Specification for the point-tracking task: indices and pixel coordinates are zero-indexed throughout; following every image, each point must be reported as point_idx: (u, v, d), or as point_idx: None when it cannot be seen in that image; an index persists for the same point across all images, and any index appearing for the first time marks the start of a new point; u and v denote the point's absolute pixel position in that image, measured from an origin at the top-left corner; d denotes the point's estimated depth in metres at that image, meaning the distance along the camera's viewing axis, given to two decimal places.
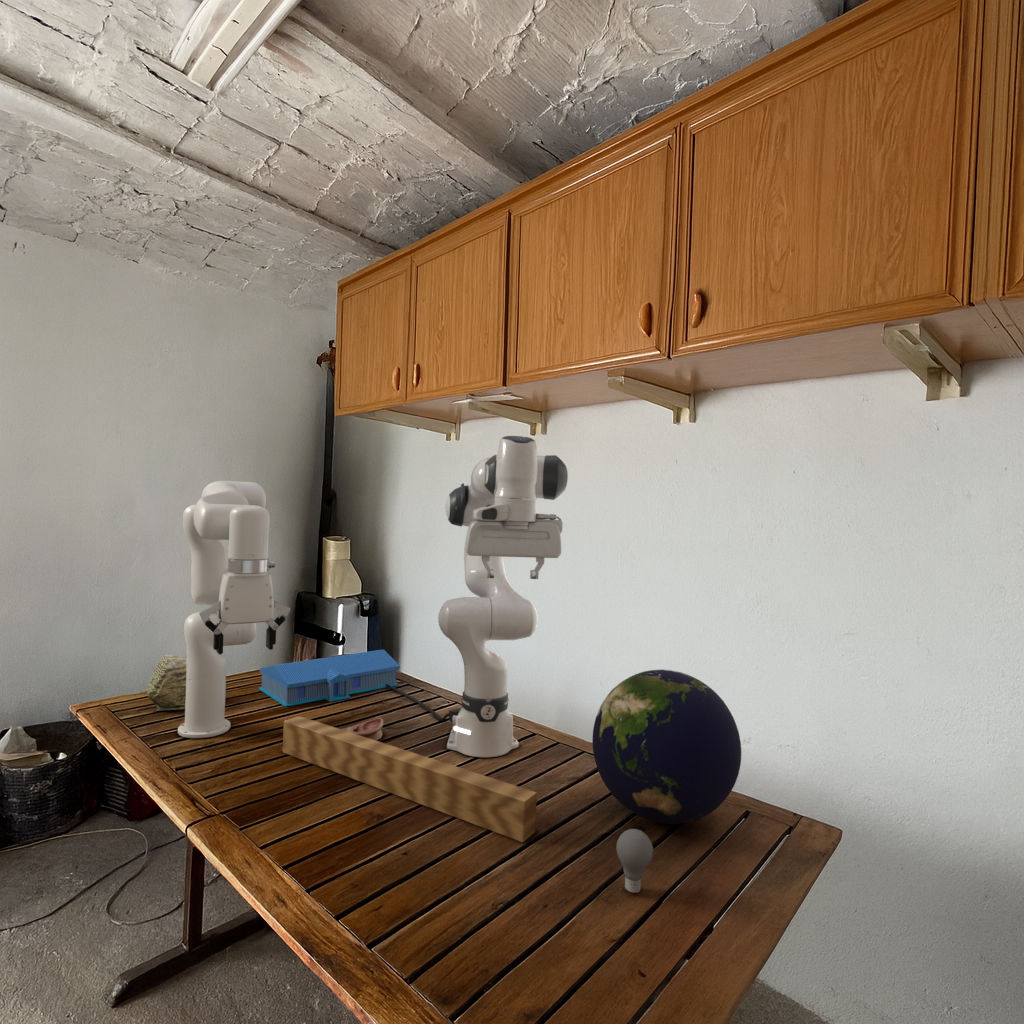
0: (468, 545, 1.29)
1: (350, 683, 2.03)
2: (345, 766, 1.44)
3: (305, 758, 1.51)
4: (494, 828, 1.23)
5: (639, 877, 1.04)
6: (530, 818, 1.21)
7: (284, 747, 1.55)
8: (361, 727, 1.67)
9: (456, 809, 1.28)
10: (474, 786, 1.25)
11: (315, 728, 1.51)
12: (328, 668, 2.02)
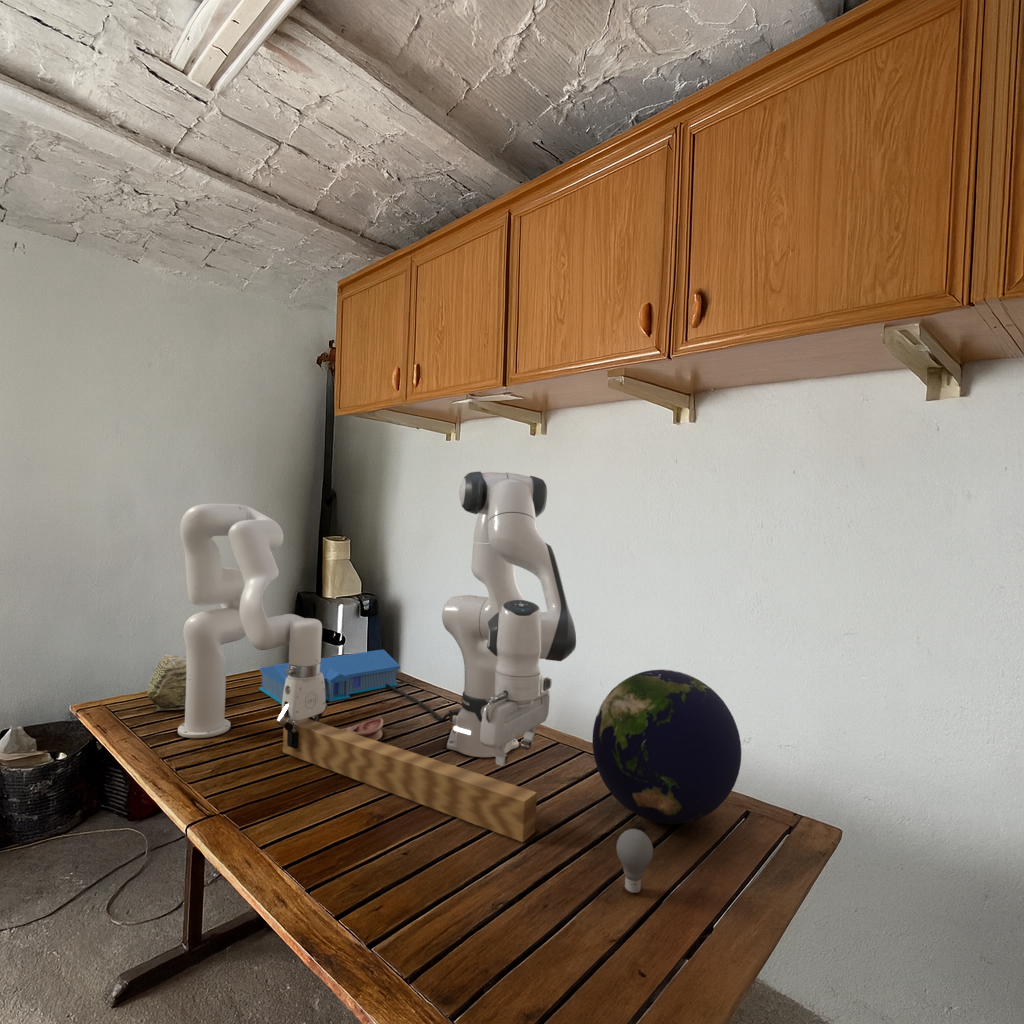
0: None
1: (350, 683, 2.03)
2: (345, 766, 1.44)
3: (305, 758, 1.51)
4: (494, 828, 1.23)
5: (639, 877, 1.04)
6: (530, 818, 1.21)
7: (284, 747, 1.55)
8: (361, 727, 1.67)
9: (456, 809, 1.28)
10: (474, 785, 1.25)
11: (315, 728, 1.51)
12: (328, 668, 2.02)
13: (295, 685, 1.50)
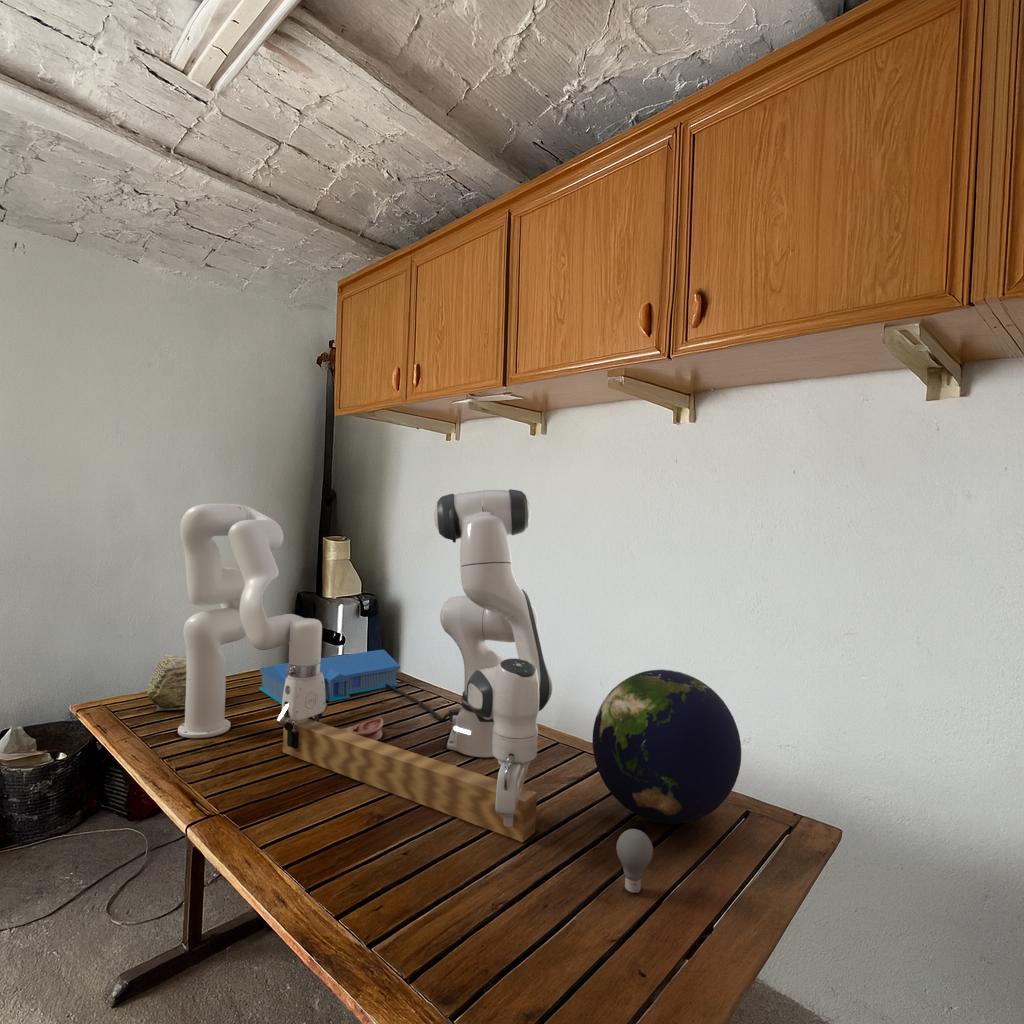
0: None
1: (350, 683, 2.03)
2: (345, 766, 1.44)
3: (305, 758, 1.51)
4: (494, 828, 1.23)
5: (639, 877, 1.04)
6: (530, 818, 1.21)
7: (284, 747, 1.55)
8: (361, 727, 1.67)
9: (456, 809, 1.28)
10: (474, 786, 1.25)
11: (315, 728, 1.51)
12: (328, 668, 2.02)
13: (295, 685, 1.50)
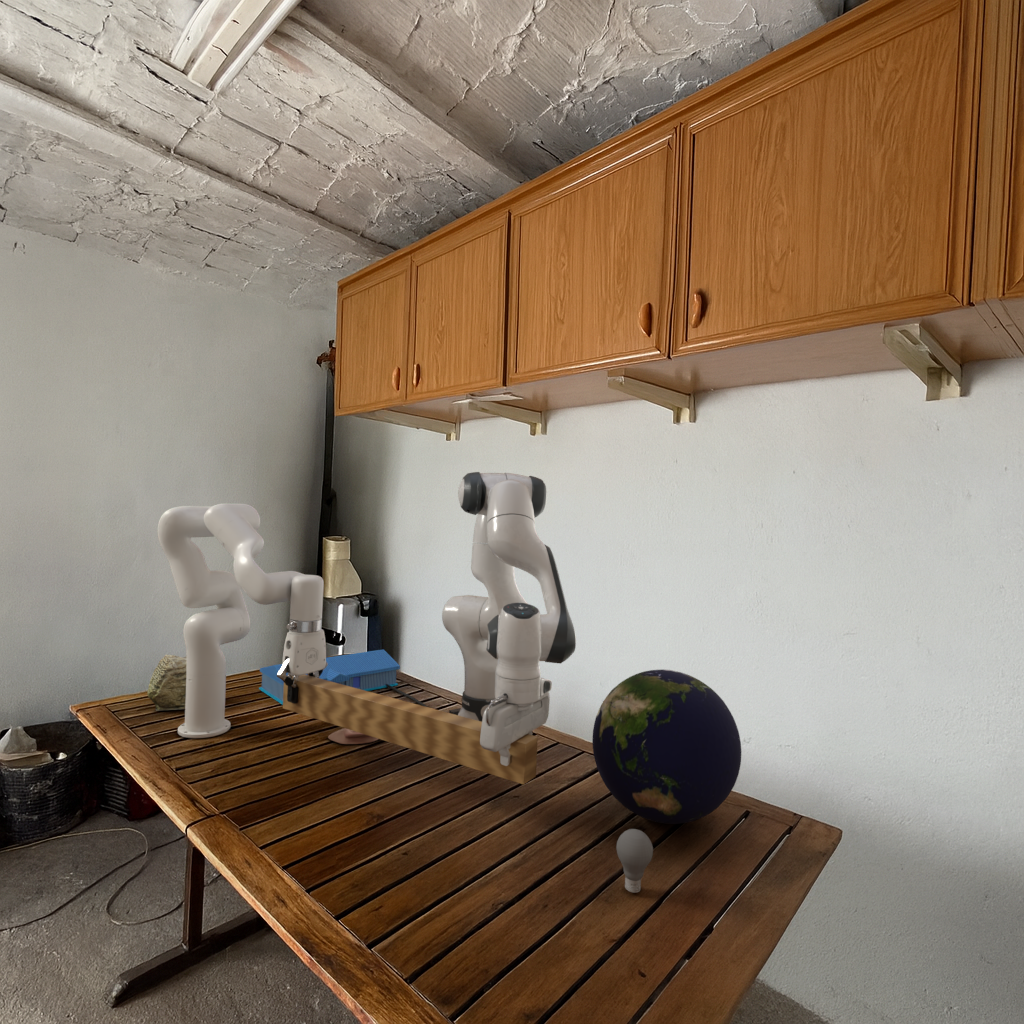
0: None
1: (350, 683, 2.03)
2: (346, 719, 1.44)
3: (305, 713, 1.51)
4: (495, 772, 1.23)
5: (639, 877, 1.04)
6: (531, 761, 1.22)
7: (284, 703, 1.55)
8: None
9: (457, 755, 1.28)
10: (475, 731, 1.25)
11: (315, 683, 1.51)
12: (328, 668, 2.02)
13: (296, 640, 1.50)
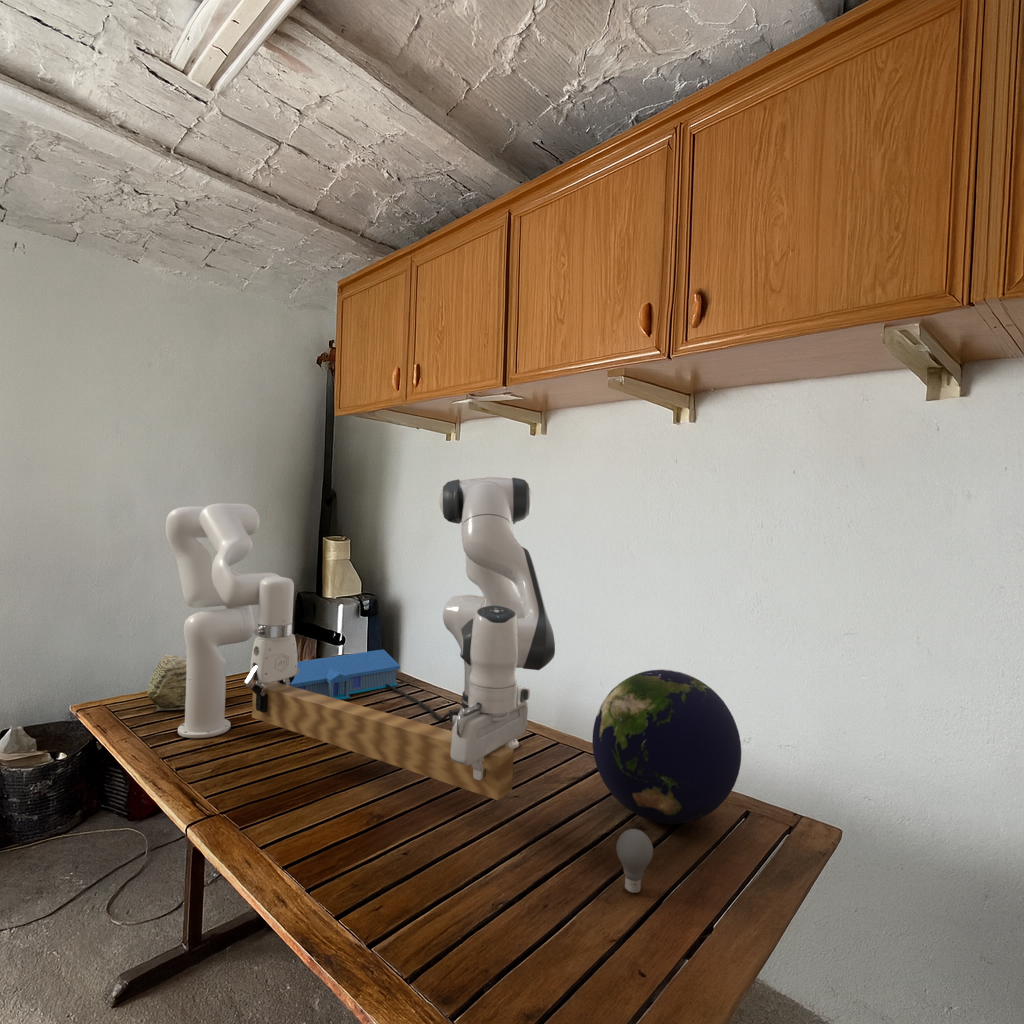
0: None
1: (350, 683, 2.03)
2: (315, 729, 1.36)
3: (274, 722, 1.44)
4: (468, 787, 1.15)
5: (639, 877, 1.04)
6: (506, 775, 1.14)
7: (253, 712, 1.48)
8: None
9: (429, 768, 1.20)
10: (447, 742, 1.18)
11: (285, 691, 1.44)
12: (328, 668, 2.02)
13: (264, 645, 1.43)
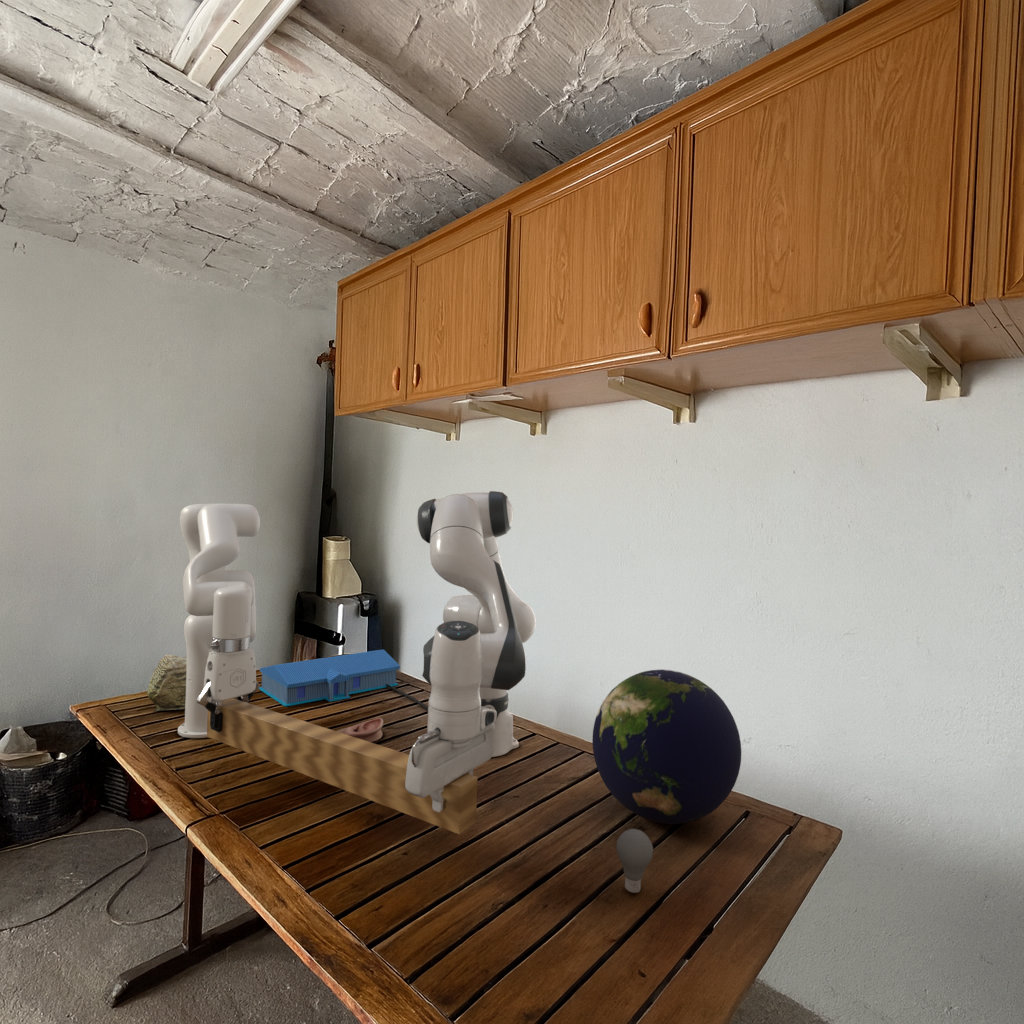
0: None
1: (350, 683, 2.03)
2: (271, 751, 1.27)
3: (229, 742, 1.34)
4: (428, 819, 1.06)
5: (639, 877, 1.04)
6: (469, 806, 1.04)
7: (208, 731, 1.38)
8: (361, 727, 1.67)
9: (387, 797, 1.11)
10: (406, 769, 1.08)
11: (241, 709, 1.34)
12: (328, 668, 2.02)
13: (218, 660, 1.33)
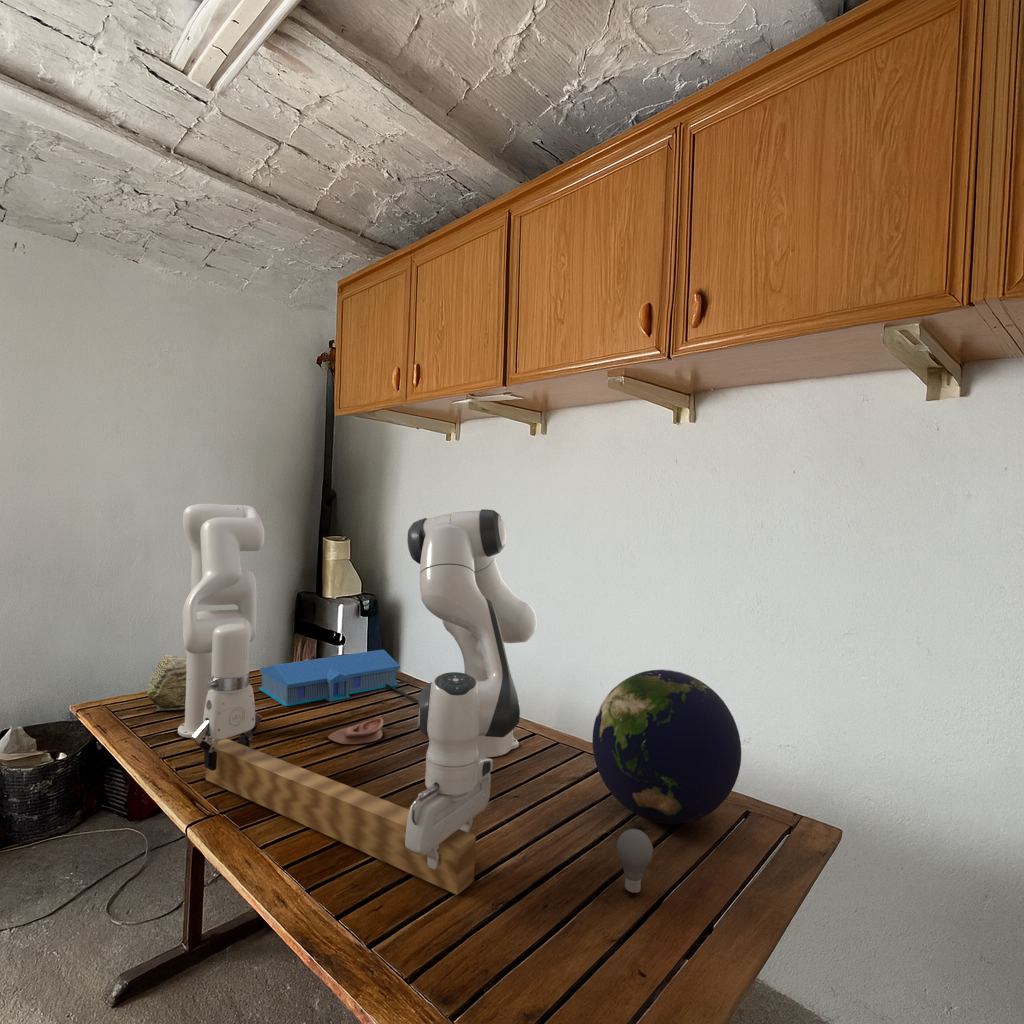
0: None
1: (350, 683, 2.03)
2: (270, 798, 1.27)
3: (228, 787, 1.35)
4: (426, 877, 1.06)
5: (639, 877, 1.04)
6: (467, 866, 1.05)
7: (207, 775, 1.39)
8: (361, 727, 1.67)
9: (385, 853, 1.11)
10: (404, 827, 1.09)
11: (240, 754, 1.34)
12: (328, 668, 2.02)
13: (216, 700, 1.33)
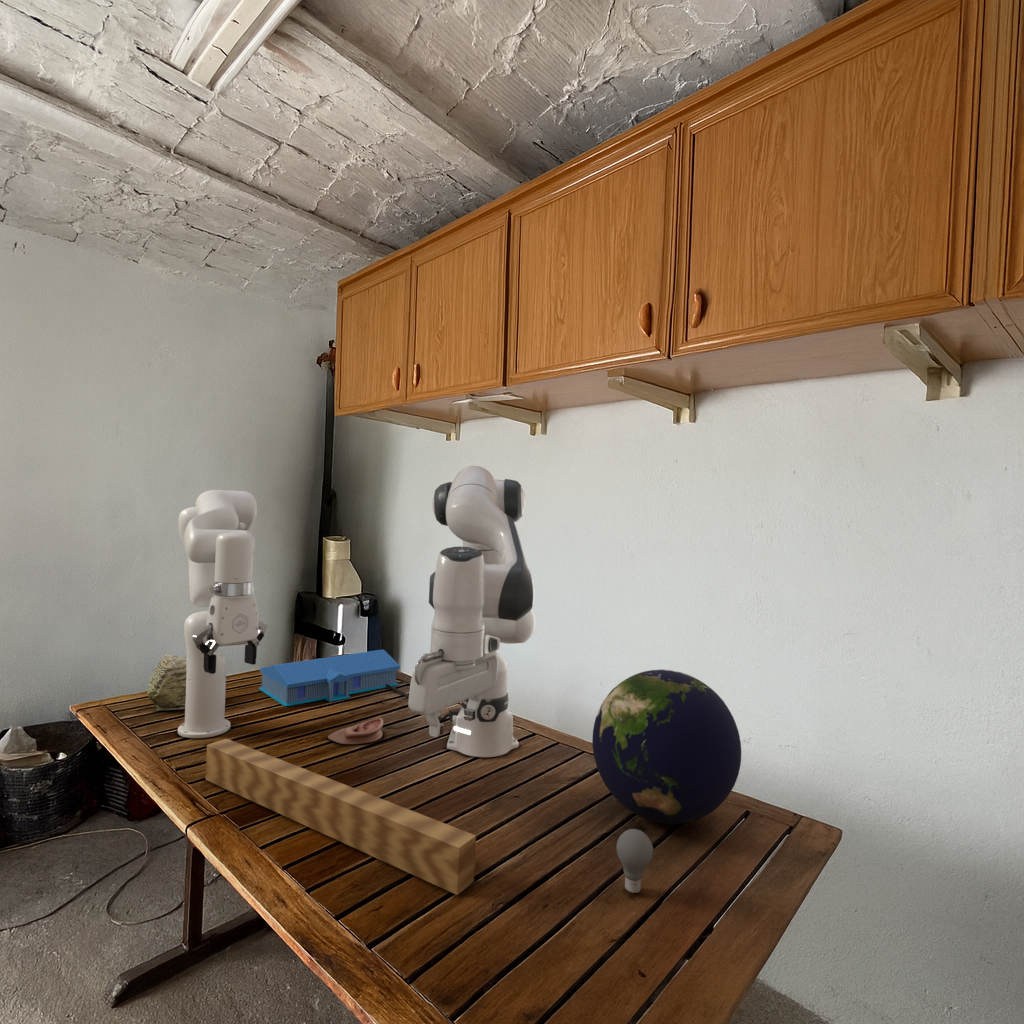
0: None
1: (350, 683, 2.03)
2: (270, 798, 1.27)
3: (228, 787, 1.35)
4: (426, 877, 1.06)
5: (639, 877, 1.04)
6: (467, 866, 1.05)
7: (207, 775, 1.39)
8: (361, 727, 1.67)
9: (385, 853, 1.11)
10: (404, 827, 1.09)
11: (240, 754, 1.34)
12: (328, 668, 2.02)
13: (220, 604, 1.33)
